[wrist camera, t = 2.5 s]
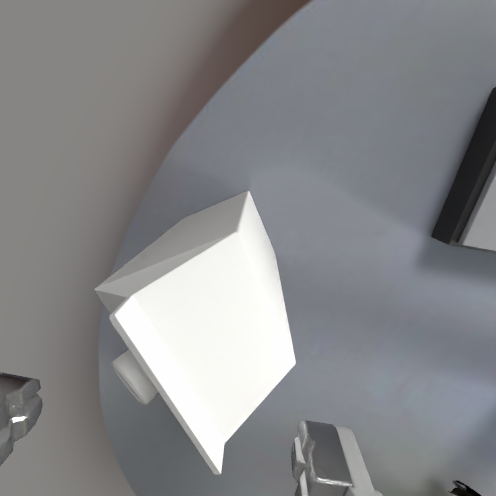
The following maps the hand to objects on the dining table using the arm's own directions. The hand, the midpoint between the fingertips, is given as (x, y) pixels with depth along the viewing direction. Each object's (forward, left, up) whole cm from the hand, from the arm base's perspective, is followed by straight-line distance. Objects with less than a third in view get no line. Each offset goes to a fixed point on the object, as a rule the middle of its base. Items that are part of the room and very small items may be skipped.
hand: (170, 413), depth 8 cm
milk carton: (0, 0, -19) cm, 19 cm away
